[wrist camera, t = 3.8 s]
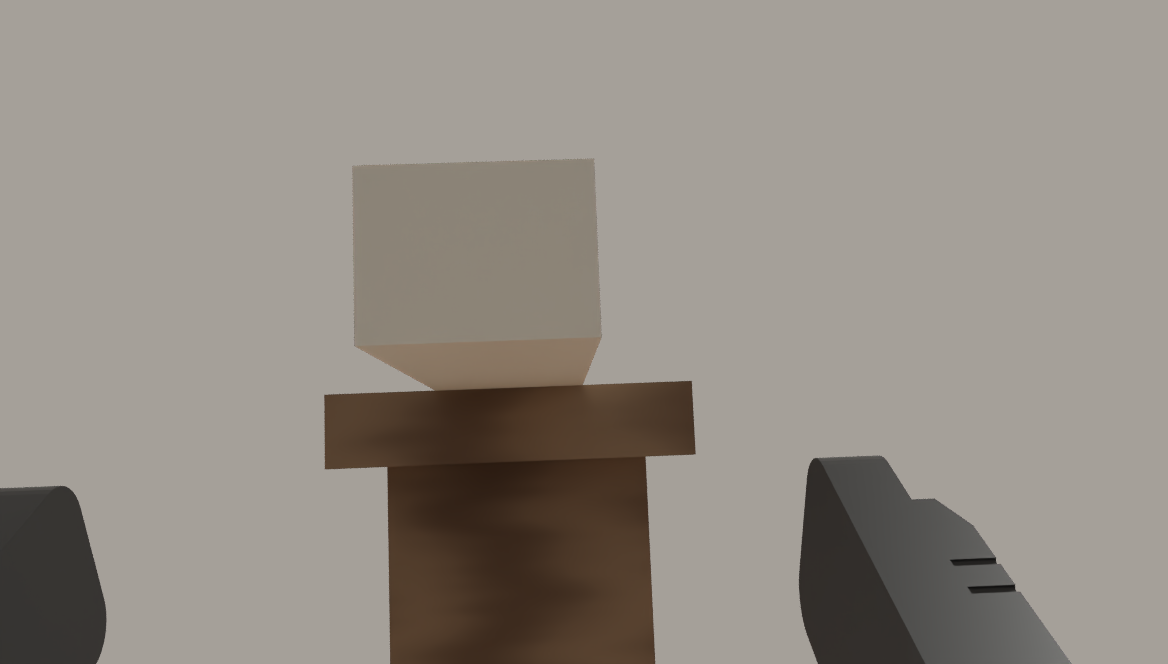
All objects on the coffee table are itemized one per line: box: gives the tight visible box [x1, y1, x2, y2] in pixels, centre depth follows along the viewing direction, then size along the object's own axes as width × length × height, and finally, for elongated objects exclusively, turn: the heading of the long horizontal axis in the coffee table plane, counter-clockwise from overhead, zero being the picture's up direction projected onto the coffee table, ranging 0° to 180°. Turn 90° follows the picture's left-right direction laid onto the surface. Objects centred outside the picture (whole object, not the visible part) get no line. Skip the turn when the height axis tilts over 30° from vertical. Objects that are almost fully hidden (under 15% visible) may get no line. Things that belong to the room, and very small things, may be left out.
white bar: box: [352, 159, 602, 391], centre depth 30 cm, size 5×29×6 cm, turn 2°
